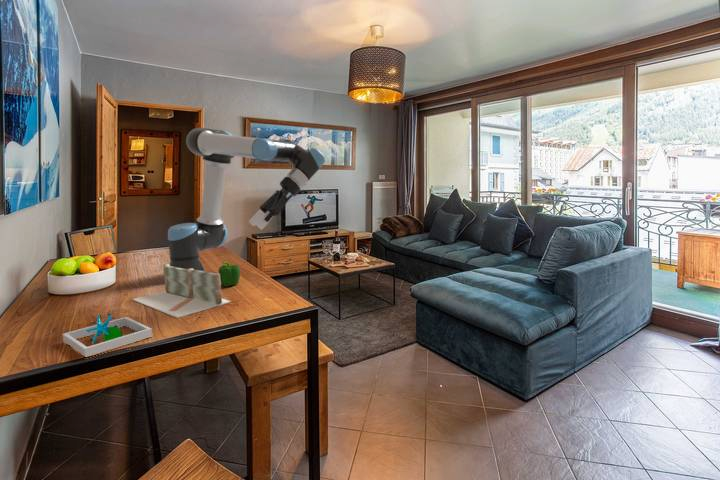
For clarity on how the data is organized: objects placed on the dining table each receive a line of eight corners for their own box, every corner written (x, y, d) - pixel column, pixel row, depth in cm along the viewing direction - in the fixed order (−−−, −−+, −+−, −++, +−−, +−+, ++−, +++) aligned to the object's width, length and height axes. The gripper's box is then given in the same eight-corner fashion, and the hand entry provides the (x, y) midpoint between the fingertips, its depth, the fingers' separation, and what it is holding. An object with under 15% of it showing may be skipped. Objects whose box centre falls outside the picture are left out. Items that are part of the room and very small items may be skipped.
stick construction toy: (78, 334, 102) (97, 307, 104) (99, 339, 108) (117, 314, 110) (106, 354, 97) (125, 326, 100) (126, 358, 104) (144, 332, 106)
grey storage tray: (63, 342, 102) (62, 333, 101) (127, 324, 114) (126, 316, 114) (86, 358, 92) (84, 348, 92) (152, 337, 105) (151, 328, 104)
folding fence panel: (192, 297, 137) (190, 270, 136) (197, 296, 139) (195, 269, 137) (218, 304, 130) (216, 275, 128) (223, 302, 131) (221, 274, 130)
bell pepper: (236, 281, 163) (235, 257, 161) (243, 285, 156) (242, 261, 154) (216, 284, 158) (214, 260, 156) (222, 288, 151) (220, 263, 150)
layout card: (132, 300, 138) (132, 298, 138) (183, 287, 153) (183, 286, 153) (177, 318, 119) (177, 316, 119) (230, 302, 134) (230, 300, 134)
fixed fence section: (197, 297, 139) (194, 268, 137) (191, 298, 137) (189, 270, 136) (169, 290, 148) (167, 263, 146) (164, 292, 146) (161, 264, 144)
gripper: (311, 190, 137) (270, 236, 132) (290, 189, 158) (255, 229, 153) (296, 175, 134) (254, 222, 129) (277, 176, 155) (240, 216, 150)
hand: (254, 225), depth 141 cm, fingers open, 11 cm apart
